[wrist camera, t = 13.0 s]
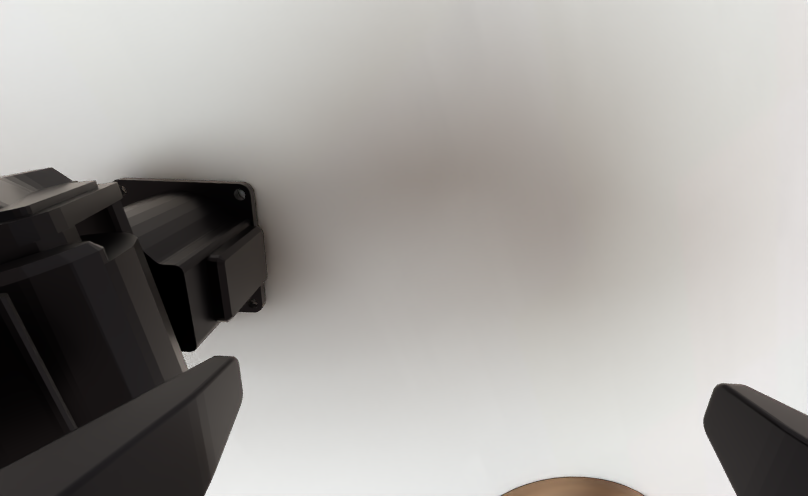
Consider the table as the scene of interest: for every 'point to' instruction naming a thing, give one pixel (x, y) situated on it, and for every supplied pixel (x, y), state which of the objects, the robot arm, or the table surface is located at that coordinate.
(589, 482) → the coupling socket
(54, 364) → the robot arm
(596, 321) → the table surface
